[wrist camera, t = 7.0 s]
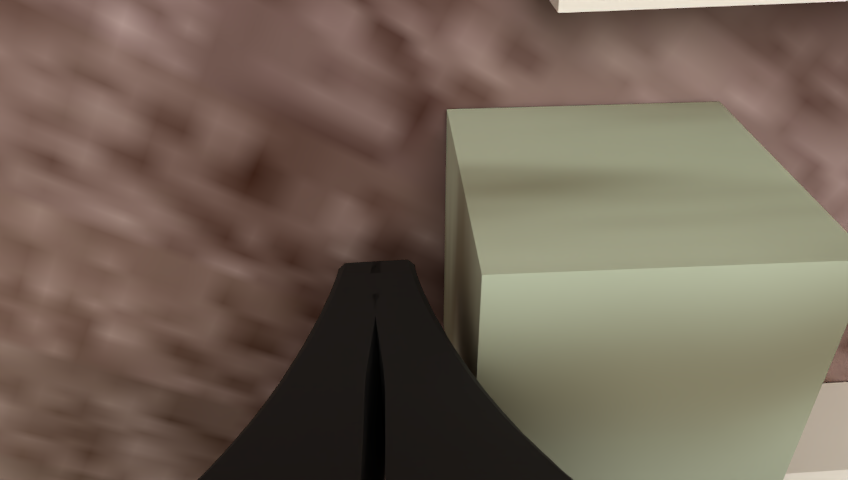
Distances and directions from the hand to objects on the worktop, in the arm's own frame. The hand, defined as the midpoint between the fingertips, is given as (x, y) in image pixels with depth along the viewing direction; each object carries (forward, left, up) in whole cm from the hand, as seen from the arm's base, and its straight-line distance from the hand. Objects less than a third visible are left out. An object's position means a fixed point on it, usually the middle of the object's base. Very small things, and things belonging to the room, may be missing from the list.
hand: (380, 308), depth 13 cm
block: (0, -4, -2) cm, 4 cm away
